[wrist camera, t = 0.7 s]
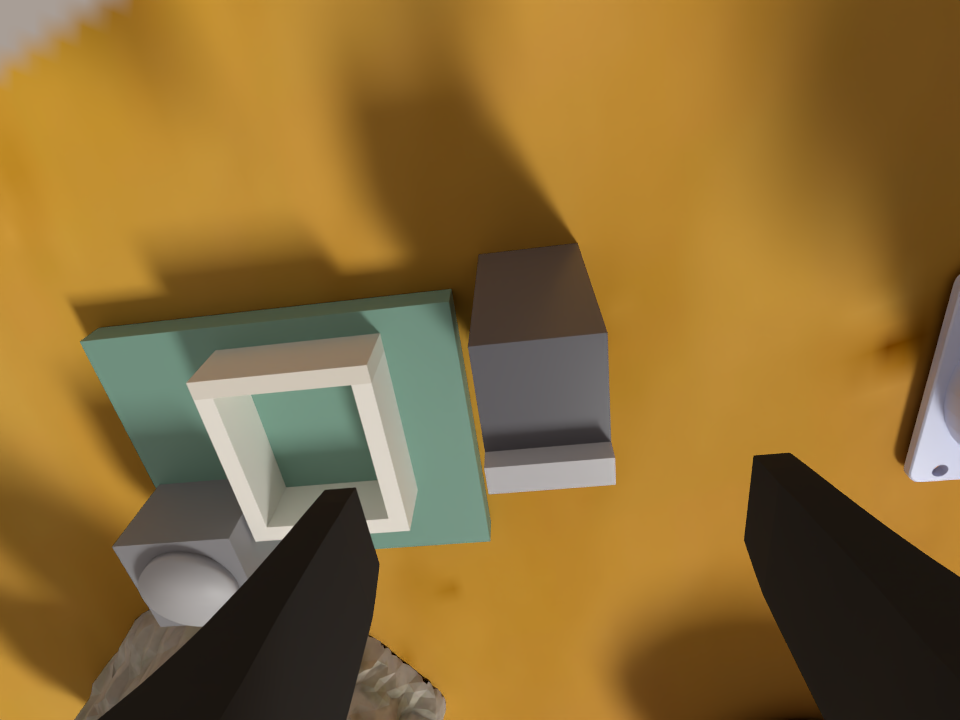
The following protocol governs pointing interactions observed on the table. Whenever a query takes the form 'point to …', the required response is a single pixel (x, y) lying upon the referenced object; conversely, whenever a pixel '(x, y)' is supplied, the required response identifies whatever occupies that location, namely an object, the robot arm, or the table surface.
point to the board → (288, 435)
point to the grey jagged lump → (382, 676)
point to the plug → (540, 371)
